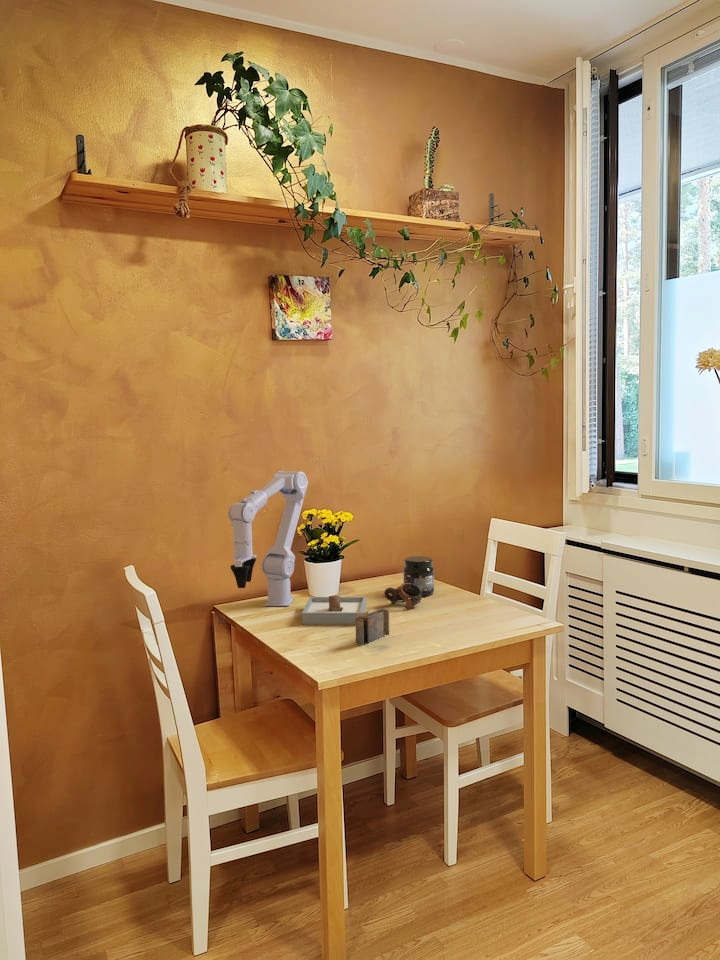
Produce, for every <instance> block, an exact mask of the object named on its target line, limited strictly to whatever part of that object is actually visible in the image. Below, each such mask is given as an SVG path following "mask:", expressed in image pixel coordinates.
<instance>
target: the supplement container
mask: <svg viewBox="0 0 720 960" xmlns="http://www.w3.org/2000/svg"><path fill="white" fill-rule="evenodd" d="M403 561H404V563H403V564H404V567H403V568H402V572H403V583H412V584H415V585H416V586H418V587H419V588H420V589H421V591H422V594H421V596H424V597H429V596H431V595H432V594H434V593H435V576H434V575H435V568H434V566H433V563H434V562H433V558H432V557H430V556H424V555H414V556H407V557H405V558H404V560H403ZM405 593H406V594H407V595H408V596H409V597H411V596H418V595H419V593H418V591H414V590H413V588H411V587H410V588H409V589H407V590H405ZM428 595H429V596H428Z"/></svg>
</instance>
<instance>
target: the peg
mask: <svg viewBox="0 0 720 960" xmlns="http://www.w3.org/2000/svg"><path fill="white" fill-rule="evenodd" d="M328 597H329V612H340V597H341V596H340V595H333V594H332V595H330V596H328Z"/></svg>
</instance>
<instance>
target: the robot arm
mask: <svg viewBox="0 0 720 960" xmlns="http://www.w3.org/2000/svg"><path fill="white" fill-rule="evenodd" d="M308 485H309V480H308V477H307V475H306V473H305V472H304V471H285V470H279V471H277V472H276V473H274V474H273V476H272V479H270V480H269V482H267V484H266V485H264V486H263V487H262V488H261V489H252V490H251V491H250V493H249V494H248V495H247V496H245V497H243V498H242V499H241V500H240V501H239V502H234V503H233V504H231V505H230V506H229V509H228V511H227V516H228V518H229V520H230V525H231V527H232V538H233V539H232V541H233V543H232V544H233V561H234V564H231V565H230V571H231V572H232V573H233V576H234V578H235V581H236V585H237V588H238V589H246V587H247V582H248V583H250V582H252V581H251V580H252V577H253V576H252V575H253V570H254V566H255V564H256V561H257V554H254V553H253V551H254V550H253V533H252V532H253V531H252V529H253V528H252V522H253V521H254V519H255V516H256V514H257V513H258V512H259V511H260V510H261V509H262V508H263V507H265V506H266V505H267V504H268V499H269V498H271V497H272V496H274V495H275V494H276V493H278V492H279V493H280V494H281V496H282V497H283V498H284V499H285V500H286V502H285V505H284V510H283V513H282V516H281V520H280V523H279V527H278V531H277V535H276V538H275V543H274V545H273V546H271V548H269V549H268V550H266V554H265V556H264V557H263V559H262V561H261V570H262V573H264V575H265V577H266V579H267V580H266V581H267V601H266V603H265V605H264V606H265V607H289V606H291V604H292V602H293V600H294V598H295V597H293V596H292V595H291V593H292V592H291V579H290V577H292V575H293V573H294V570H295V561H296V555H295V554H294V553H293V551H292V550H291V549H292V544H293V541H294V539H295V538H294V537H295V535H296V534H295V532H296V530H297V526H298V524H299V519H300V515H301V511H302V507H303V504H304V500H305V499H304V498H305V496H306V492H307V488H308Z"/></svg>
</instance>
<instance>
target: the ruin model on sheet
mask: <svg viewBox="0 0 720 960" xmlns="http://www.w3.org/2000/svg"><path fill="white" fill-rule="evenodd" d="M355 623H356V625H355V644H356V643H357V644H356V645H359V644H360V645H359V646H362V645H364V646H365V644H364V643H365V641H364V640H366V641H367V644H368V643H369V644H371V643H373V642H376V641H378V640H381V639H383V638H385V635H388V636H390V610H389V609H385V608H379V609H377V610H374V611H371V612H370V610H367V611H365V612H364V613H362V614H359V615H357V618H355ZM382 637H383V638H382ZM380 638H381V639H380ZM377 639H378V640H377ZM375 640H376V641H375ZM370 642H371V643H370Z"/></svg>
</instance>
